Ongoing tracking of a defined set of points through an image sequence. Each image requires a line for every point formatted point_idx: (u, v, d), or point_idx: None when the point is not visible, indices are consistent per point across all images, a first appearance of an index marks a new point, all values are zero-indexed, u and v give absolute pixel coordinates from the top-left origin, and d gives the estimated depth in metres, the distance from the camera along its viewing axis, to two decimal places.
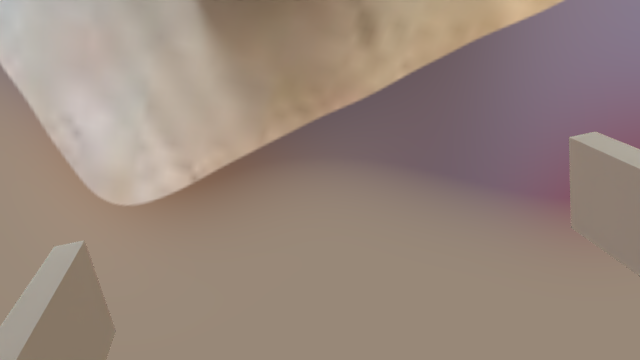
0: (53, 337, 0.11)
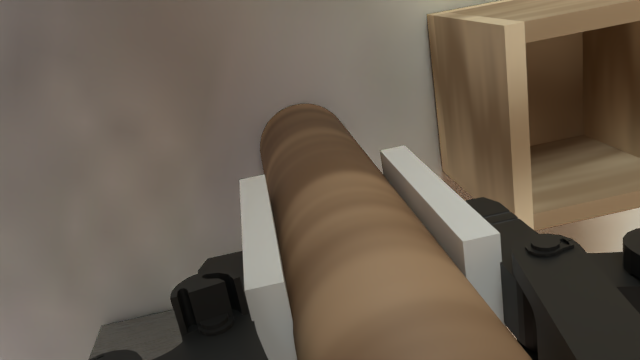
0: (277, 240, 0.14)
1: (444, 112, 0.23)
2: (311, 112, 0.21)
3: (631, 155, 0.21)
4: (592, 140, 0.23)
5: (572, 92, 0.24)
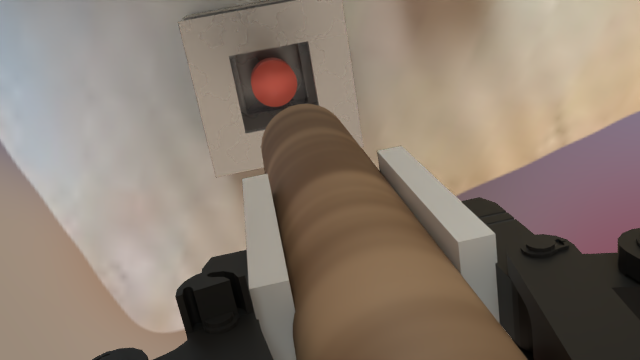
0: None
1: None
2: (312, 112, 0.22)
3: None
4: None
5: None
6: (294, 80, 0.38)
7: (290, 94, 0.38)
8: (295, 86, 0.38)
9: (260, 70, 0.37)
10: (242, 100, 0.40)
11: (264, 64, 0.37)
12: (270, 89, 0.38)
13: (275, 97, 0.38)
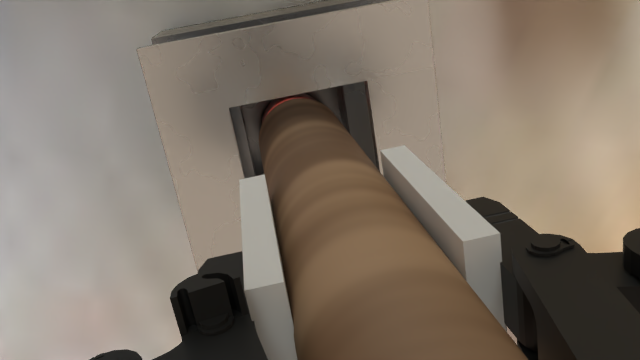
0: (277, 240, 0.14)
1: None
2: (307, 106, 0.23)
3: None
4: None
5: None
6: None
7: None
8: None
9: None
10: (250, 169, 0.25)
11: None
12: None
13: None
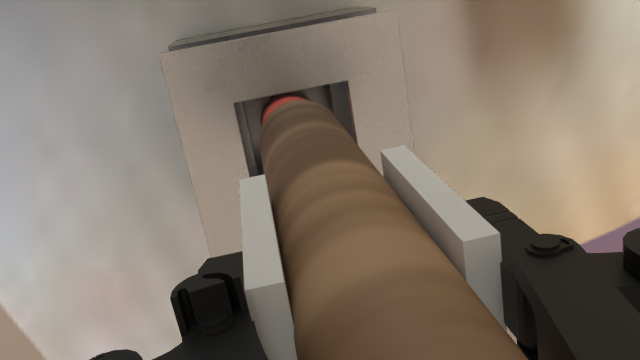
0: (277, 240, 0.14)
1: None
2: (307, 107, 0.23)
3: None
4: None
5: None
6: None
7: None
8: None
9: None
10: (251, 158, 0.29)
11: (279, 103, 0.28)
12: None
13: None
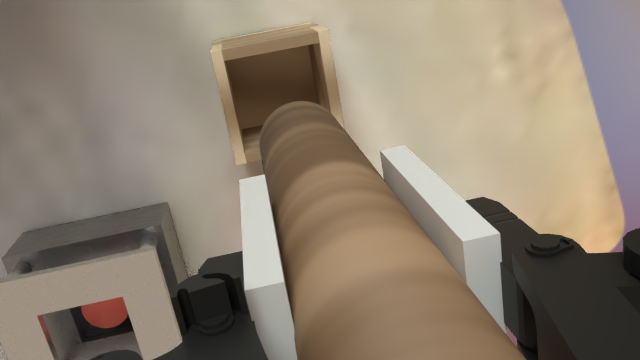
0: (277, 240, 0.14)
1: None
2: (307, 109, 0.23)
3: None
4: None
5: (308, 87, 0.39)
6: None
7: (122, 316, 0.39)
8: None
9: None
10: (75, 329, 0.38)
11: None
12: (101, 313, 0.38)
13: (108, 319, 0.38)
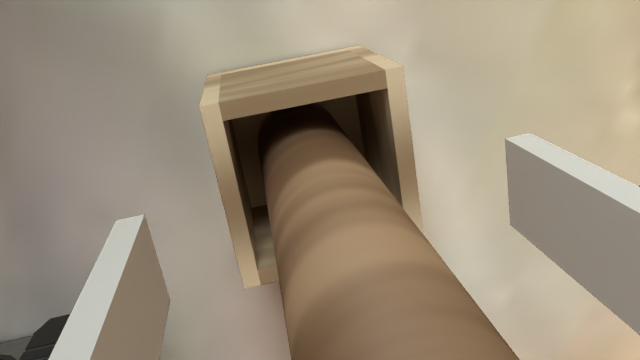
0: (130, 297, 0.12)
1: None
2: (305, 108, 0.23)
3: None
4: None
5: None
6: None
7: None
8: None
9: None
10: None
11: None
12: None
13: None
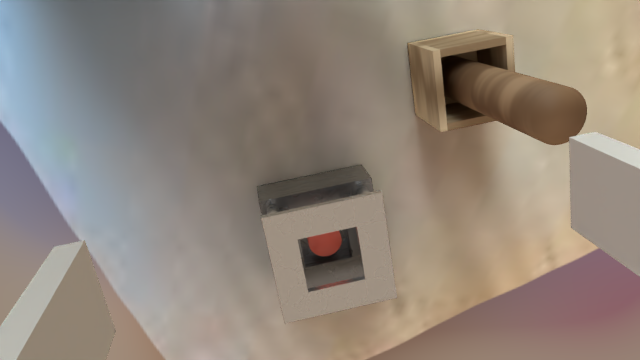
0: (53, 337, 0.11)
1: (415, 86, 0.52)
2: (458, 57, 0.50)
3: None
4: None
5: None
6: (339, 238, 0.52)
7: (336, 247, 0.52)
8: (340, 241, 0.52)
9: None
10: (302, 257, 0.52)
11: None
12: (322, 244, 0.52)
13: (326, 250, 0.52)
